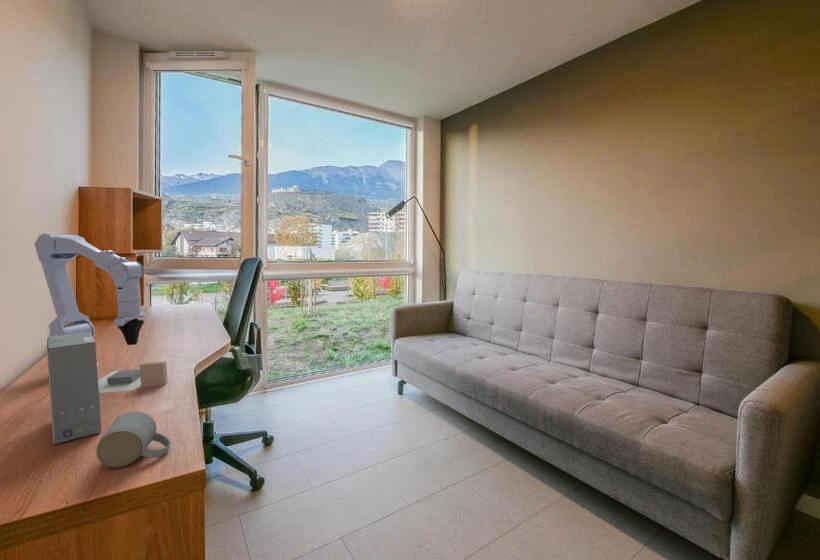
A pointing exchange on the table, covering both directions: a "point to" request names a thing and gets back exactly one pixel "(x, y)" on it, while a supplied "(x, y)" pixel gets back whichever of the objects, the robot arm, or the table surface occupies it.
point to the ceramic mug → (130, 440)
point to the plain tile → (153, 373)
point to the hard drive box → (73, 386)
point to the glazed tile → (124, 377)
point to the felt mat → (116, 385)
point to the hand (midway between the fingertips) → (132, 344)
